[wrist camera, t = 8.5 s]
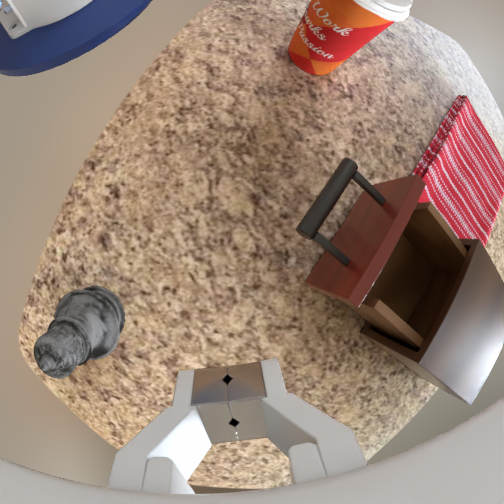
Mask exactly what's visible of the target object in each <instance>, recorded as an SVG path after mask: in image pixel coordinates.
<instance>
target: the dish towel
mask: <svg viewBox="0 0 504 504" xmlns="http://www.w3.org/2000/svg"><path fill="white" fill-rule="evenodd" d="M416 174H418V175H419V176H420V177H421V178H422V179H423V181H424V182H425V183H426V186H425V188H424V190H423V192H422V194H421V196H420V199H419V201H418V203H423V202H432V204H433V205H434V206H435V208H436V209H437V210H438V211H439V213H440V214H441V215H442V217H443V218H444V219H445V221H446V222H447V223H448V225H449V226H450V227H451V229H452V230H453V231H454V233H455V234H456V236H457V237H458V238H462V239H480V241H481V243H482V244H483V246H484V248H485V246H486V243H487V241H488V238H489V235H490V233H491V230H492V228H493V225H494V222H495V219H496V217H497V213H498V210H499V207H500V205H501V201H502V198H503V195H504V162H503V160H502V158H501V156H500V154H499V152H498V150H497V148H496V146H495V144H494V142H493V141H492V139H491V137H490V136H489V134H488V132H487V131H486V129H485V128H484V126H483V124H482V122H481V121H480V119H479V118H478V116H477V115H476V113H475V111H474V109H473V107H472V105H471V104H470V101H469V100H468V98H467V96H465V95H463V96H460V95H459V96H458V97H457V98H456V100H455V102H454V103H453V105H452V107H451V108H450V110H449V112H448V113H447V115H446V116H445V118H444V120H443V122H442V124H441V125H440V127H439V130H438V131H437V133H436V134H435V136H434V138H433V140H432V141H431V143H430V145H429V146H428V148H427V150H426V152H425V153H424V155H423V156H422V158H421V159H420V160H419V162H418V164H417V166H416V168H415V169H414V171H413V173H412V174H411V176H412V175H416Z"/></svg>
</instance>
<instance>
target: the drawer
mask: <svg viewBox="0 0 504 504" xmlns="http://www.w3.org/2000/svg"><path fill="white" fill-rule="evenodd" d="M357 169H358V166H357V164H356V163H355V162H354V161H353V160H351V159H349V158H344V159H343V160H342V161H341V163H340V164H339V166H338V167H337V169H336V170H335V172H334V173H333V175H332V176H331V178H330V179H329V181H328V182H327V184H326V185H325V187H324V188H323V190H322V191H321V193H320V194H319V196H318V197H317V199H316V200H315V201H314V203H313V204H312V206H311V207H310V209H309V210H308V212H307V213H306V215H305V216H304V218H303V219H302V220H301V222H300V223H299V225H298V226H297V228H296V231H297V232H298V233H299V234H300V235H301V236H303V237H304V238H306V239H308V240H314V241H315V242H316V243H317V244H319V245H320V246H321V247H322V248H323V249H325V250H326V251H325V252H324V254H323V255H322V257H321V259H320V260H319V262H318V263H317V265H316V266H315V268H314V269H313V271H312V272H311V273H310V275H309V276H308V278H307V279H306V281H305V283H306V284H307V285H308V286H310V287H311V288H312V289H314V290H317V291H319V292H321V293H324V294H326V295H328V296H331V297H333V298H336V299H338V300H340V301H342V302H344V303H345V304H346V305H348V306H349V307H350V308H351V309H353V310H354V311H355V312H357V313H358V314H359V315H360V316H362V317H363V318H364V319H366V320H367V321H368V322H369V323H371V324H372V325H373V326H374V327H376V328H377V329H378V330H380V331H381V332H382V333H383V334H385V335H386V336H387V337H388V338H390V339H391V340H393V341H395V342H397V343H399V344H401V345H403V346H405V347H407V348H409V349H411V350H413V351H415V352H417V353H418V351H419V350H420V348H421V346H422V345H423V343H424V341H425V340H426V338H427V336H428V335H429V333H430V331H431V329H432V327H433V326H434V324H435V322H436V320H437V318H438V316H439V315H440V313H441V311H442V309H443V307H444V305H445V303H446V301H447V299H448V297H449V295H450V293H451V291H452V288H453V286H454V284H455V282H456V280H457V278H458V275H459V273H460V271H461V268H462V266H463V264H464V261H465V259H466V257H467V254H468V252H467V250H466V249H465V247H464V246H463V244H462V243H461V241H460V240H459V238H458V237H457V236H456V234H455V233H454V231H453V230H452V229H451V227H450V226H449V225H448V223H447V222H446V221H445V219H444V218H443V217H442V215H441V214H440V213H439V211H438V210H437V209H436V208H435V206H434V205H433V204H432V202H423V203H418V201H419V199H420V196H421V194H422V192H423V190H424V188H425V186H426V183H425V182H424V181H423V179H422V178H421V177H420V176H419V175H418V174H416V175H412V176H407V177H403V178H399V179H395V180H390V181H386V182H382V183H378V184H374V185H371V184H370V183H369V182H368V181H367V180H366V179H365V178H364V177H363V176H362V175H361V174H360V173H359V172H358V171H357ZM351 179H353V180H354V181H355V182H356V183H357V184H358V185H359V186H360V187H361V188H362V189H364V190H363V192H362V194H361V195H360V197H359V199H358V200H357V202H356V204H355V205H354V207H353V209H352V210H351V212H350V213H349V215H348V217H347V218H346V220H345V221H344V223H343V225H342V226H341V228H340V229H339V231H338V232H337V234H336V235H335V237H334V239H333V240H332V242H330V241H328V240H327V239H326V238H325V237H324V236H322V235H321V234H320V233H319V232H317V231H318V230H319V228H320V227H321V225H322V224H323V222H324V221H325V219H326V218H327V216H328V215H329V213H330V212H331V210H332V209H333V207H334V206H335V204H336V202H337V201H338V199H339V198H340V196H341V195H342V193H343V192H344V190H345V188H346V187H347V185H348V184H349V182H350V181H351Z"/></svg>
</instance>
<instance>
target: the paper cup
mask: <svg viewBox="0 0 504 504" xmlns="http://www.w3.org/2000/svg"><path fill="white" fill-rule="evenodd" d="M411 5H412V0H311V2H310V4H309V6H308V8H307V9H306V11H305V13H304V15H303V17H302V19H301V21H300V23H299V25H298V27H297V29H296V31H295V33H294V36H293V38H292V40H291V42H290V45H289V55H290V57H291V59H292V61H293V62H294V63H295V64H296V65H297V66H298V67H299V68H300V69H302V70H304V71H305V72H308V73H310V74H314V75H325V74H328V73H330V72H331V71H333V70H334V69H335V68H336V67H338V66H339V65H340V64H341V63H343V62H344V61H345V60H346V59H348V58H349V57H350V56H351V55H353V54H354V53H355V52H356V51H358V50H359V49H360V48H361V47H363V46H364V45H365V44H366V43H368V42H369V41H370V40H372V39H373V38H374V37H375V36H377V35H378V34H379V33H381V32H382V31H383V30H385V29H386V28H387V27H389V26H390V25H391V24H393V23H394V22H401V21H403V20H404V19H406V18H407V17H408V15H409V9H410V7H411Z"/></svg>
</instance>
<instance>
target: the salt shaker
mask: <svg viewBox="0 0 504 504" xmlns="http://www.w3.org/2000/svg"><path fill="white" fill-rule="evenodd" d="M124 322H125V315H124V310H123V307H122V304H121V303H120V301H119V299H118V298H117V297H116V296H115V295H114V294H113V293H112V292H111V291H109V290H108V289H106V288H103V287H100V286H91V287H87V288H85V289H83V290H75V291H71V292H70V293H68V294H66V295H65V296H64V297H63V298H62V299H61V300H60V302H59V303H58V306H57V308H56V312H55V319H54V320H53V321H52V322H51V323H50V325H49V327H48V330H47V332H46V333H45V334H43V335H42V336H41V337H39V338H38V340H37V341H36V343H35V346H34V356H35V360H36V362H37V364H38V366H39V367H40V369H41V370H42V371H43V372H44V373H45V374H47V375H48V376H51V377H53V378H57V379H61V378H65V377H67V376H68V375H70V374H71V373H72V371H73V370H74V369H75V367H76V366H79V365H82V364H84V363H86V362H87V361H88V360H89V359H90V360H96V359H102V358H104V357H106V356H107V355H109V354H110V353H111V352H112V351H113V350H114V349H115V347H116V345H117V343H118V341H119V335H120V333H121V331H122V329H123V327H124Z"/></svg>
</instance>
